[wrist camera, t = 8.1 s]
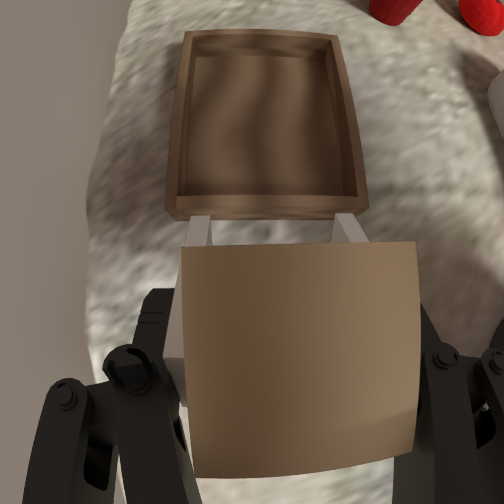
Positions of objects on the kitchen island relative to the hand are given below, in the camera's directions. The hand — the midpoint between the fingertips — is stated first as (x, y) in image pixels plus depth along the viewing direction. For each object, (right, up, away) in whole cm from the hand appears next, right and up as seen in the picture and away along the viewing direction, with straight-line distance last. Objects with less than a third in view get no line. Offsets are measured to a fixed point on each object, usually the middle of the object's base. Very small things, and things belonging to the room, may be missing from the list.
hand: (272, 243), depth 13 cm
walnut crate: (0, +14, +20) cm, 24 cm away
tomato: (+46, +48, +26) cm, 71 cm away
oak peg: (0, -4, +3) cm, 5 cm away
